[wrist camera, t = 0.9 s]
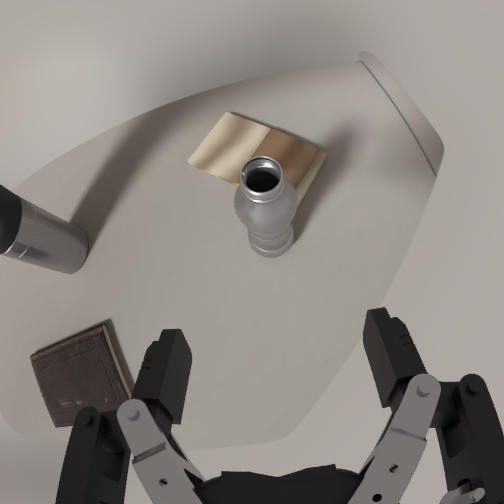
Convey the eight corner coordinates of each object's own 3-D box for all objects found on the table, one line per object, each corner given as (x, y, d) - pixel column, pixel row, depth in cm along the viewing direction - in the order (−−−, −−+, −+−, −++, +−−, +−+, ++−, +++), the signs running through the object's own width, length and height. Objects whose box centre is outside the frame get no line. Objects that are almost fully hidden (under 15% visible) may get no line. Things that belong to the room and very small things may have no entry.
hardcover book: (141, 410, 38) (135, 414, 36) (62, 425, 38) (55, 427, 36) (107, 323, 42) (100, 323, 40) (36, 354, 42) (29, 354, 40)
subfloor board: (190, 164, 46) (187, 160, 45) (227, 116, 48) (225, 111, 47) (293, 214, 42) (293, 211, 41) (326, 157, 44) (327, 152, 42)
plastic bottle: (286, 213, 42) (287, 134, 23) (298, 255, 41) (311, 201, 21) (245, 223, 43) (216, 150, 23) (255, 266, 41) (230, 220, 22)
